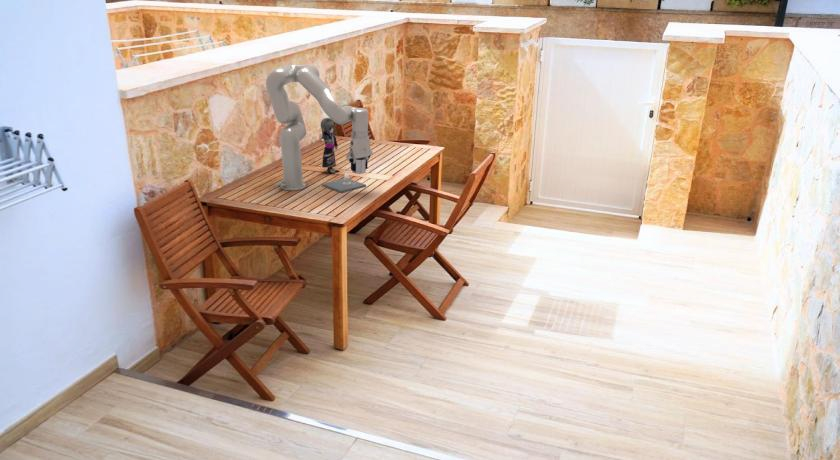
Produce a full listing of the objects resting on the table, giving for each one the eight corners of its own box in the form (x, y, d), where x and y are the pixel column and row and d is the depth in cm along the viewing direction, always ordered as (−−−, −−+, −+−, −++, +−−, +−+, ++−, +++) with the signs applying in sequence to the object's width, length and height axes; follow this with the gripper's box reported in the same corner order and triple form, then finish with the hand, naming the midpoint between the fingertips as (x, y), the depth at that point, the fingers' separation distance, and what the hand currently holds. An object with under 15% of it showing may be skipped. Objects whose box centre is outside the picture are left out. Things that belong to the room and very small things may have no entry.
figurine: (329, 178, 358) (327, 122, 347) (315, 177, 359) (313, 122, 348) (339, 169, 374) (337, 116, 363) (326, 169, 375) (324, 115, 364)
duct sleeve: (358, 174, 329) (358, 160, 327) (349, 171, 334) (350, 157, 331) (368, 172, 334) (368, 158, 331) (360, 169, 338) (360, 155, 335)
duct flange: (341, 193, 336) (341, 181, 334) (322, 185, 347) (321, 174, 345) (366, 186, 347) (365, 175, 344) (346, 179, 357) (346, 168, 355)
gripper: (350, 138, 318) (350, 174, 325) (378, 133, 330) (377, 168, 337) (340, 134, 323) (340, 170, 330) (368, 130, 335) (367, 164, 341)
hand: (359, 169), depth 333 cm, fingers closed on duct sleeve, 6 cm apart
